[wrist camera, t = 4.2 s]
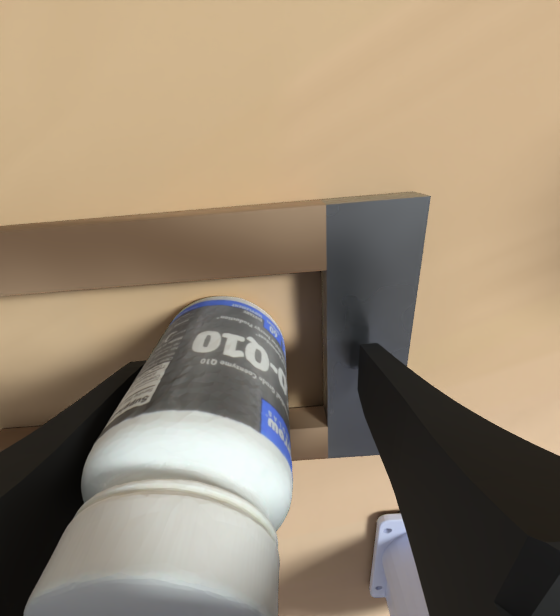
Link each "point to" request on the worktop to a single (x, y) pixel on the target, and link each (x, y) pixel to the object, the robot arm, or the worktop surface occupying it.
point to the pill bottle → (185, 480)
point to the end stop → (366, 300)
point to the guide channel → (171, 265)
